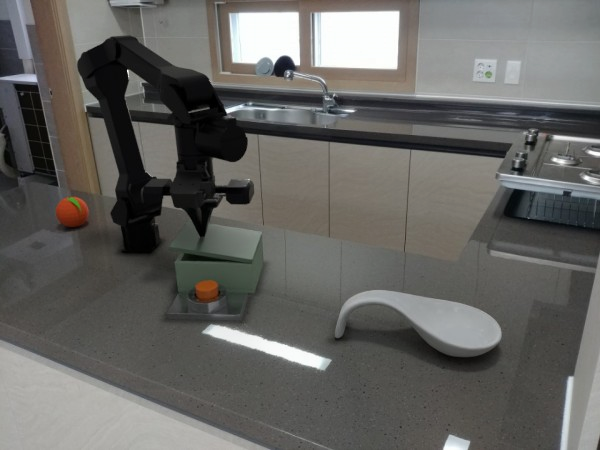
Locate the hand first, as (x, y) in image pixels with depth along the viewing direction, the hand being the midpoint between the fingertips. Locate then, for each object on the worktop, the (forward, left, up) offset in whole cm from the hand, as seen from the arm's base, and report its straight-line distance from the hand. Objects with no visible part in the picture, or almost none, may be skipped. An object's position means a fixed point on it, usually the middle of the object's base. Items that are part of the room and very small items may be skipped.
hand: (202, 236), depth 96 cm
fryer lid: (+3, 0, -1) cm, 3 cm away
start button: (+3, -11, -6) cm, 13 cm away
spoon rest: (+36, -19, -8) cm, 41 cm away
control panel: (+3, -11, -8) cm, 14 cm away
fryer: (+3, 0, -8) cm, 9 cm away
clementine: (-36, +22, -9) cm, 43 cm away
